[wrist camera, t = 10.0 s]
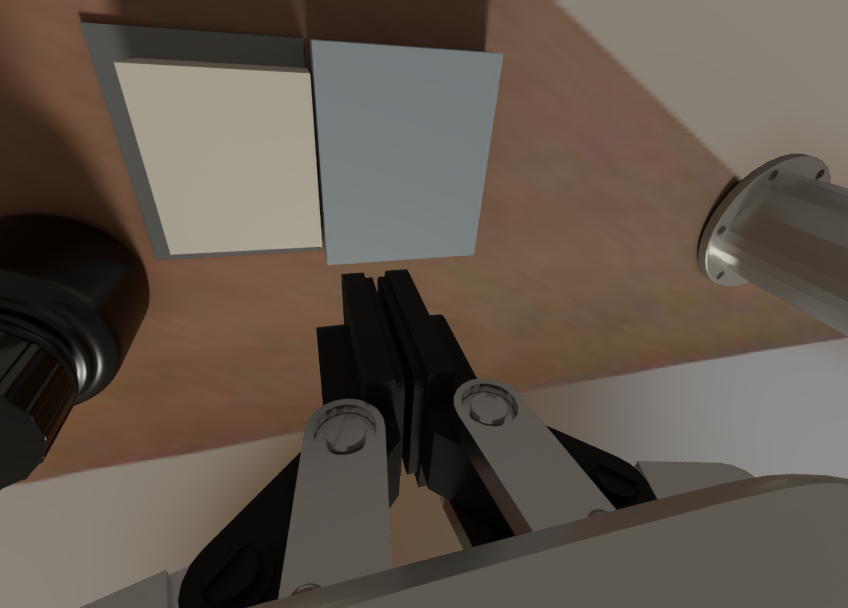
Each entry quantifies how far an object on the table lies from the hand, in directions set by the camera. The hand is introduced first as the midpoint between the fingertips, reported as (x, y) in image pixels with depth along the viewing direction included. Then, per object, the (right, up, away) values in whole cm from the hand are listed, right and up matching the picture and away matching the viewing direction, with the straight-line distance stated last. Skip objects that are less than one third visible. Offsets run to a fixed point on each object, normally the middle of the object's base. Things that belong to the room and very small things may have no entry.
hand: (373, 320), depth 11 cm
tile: (-9, +8, +11) cm, 16 cm away
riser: (0, +10, +15) cm, 18 cm away
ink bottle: (-20, +2, +14) cm, 25 cm away
